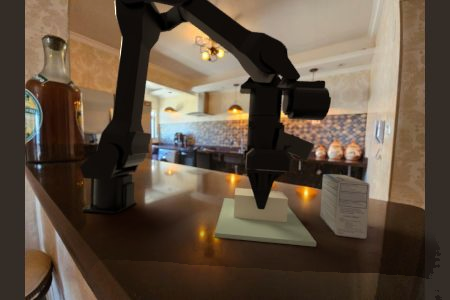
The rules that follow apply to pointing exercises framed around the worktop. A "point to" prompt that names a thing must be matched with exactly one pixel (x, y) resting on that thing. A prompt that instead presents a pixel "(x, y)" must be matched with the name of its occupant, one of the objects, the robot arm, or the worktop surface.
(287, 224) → the mat
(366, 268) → the worktop surface
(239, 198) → the block
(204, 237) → the worktop surface
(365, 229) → the medicine box
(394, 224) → the worktop surface
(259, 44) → the robot arm
